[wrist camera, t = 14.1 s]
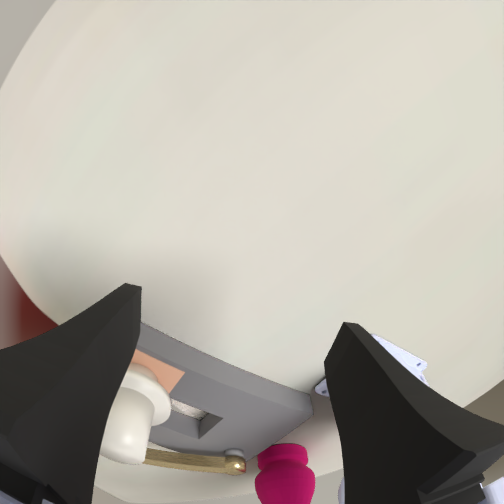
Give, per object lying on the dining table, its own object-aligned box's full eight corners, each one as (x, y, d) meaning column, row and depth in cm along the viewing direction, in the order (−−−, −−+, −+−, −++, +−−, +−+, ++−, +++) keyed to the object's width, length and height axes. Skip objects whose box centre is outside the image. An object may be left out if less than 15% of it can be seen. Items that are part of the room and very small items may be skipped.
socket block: (309, 394, 27) (314, 421, 24) (235, 451, 32) (235, 473, 29) (120, 310, 22) (106, 336, 19) (87, 393, 27) (77, 415, 24)
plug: (187, 371, 22) (176, 452, 15) (160, 410, 24) (147, 478, 17) (111, 336, 20) (77, 411, 14) (94, 381, 22) (69, 446, 16)
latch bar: (246, 456, 26) (246, 467, 25) (244, 464, 27) (245, 475, 26) (89, 433, 25) (85, 443, 24) (95, 443, 26) (92, 452, 25)
